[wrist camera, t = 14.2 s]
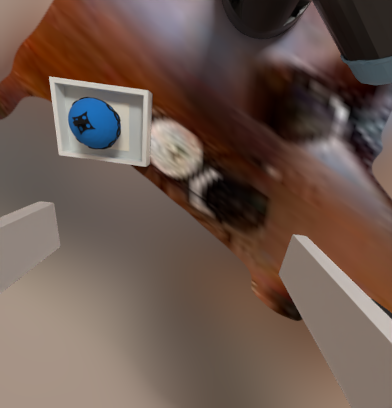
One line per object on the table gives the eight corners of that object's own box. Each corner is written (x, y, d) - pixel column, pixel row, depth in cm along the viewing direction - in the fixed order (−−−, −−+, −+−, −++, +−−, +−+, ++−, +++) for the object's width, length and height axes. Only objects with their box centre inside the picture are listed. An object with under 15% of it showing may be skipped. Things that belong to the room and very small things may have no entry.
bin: (61, 81, 36) (49, 76, 33) (152, 93, 36) (148, 90, 33) (69, 153, 40) (59, 155, 38) (149, 164, 41) (145, 166, 38)
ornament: (116, 94, 36) (85, 80, 26) (135, 139, 38) (113, 141, 29) (77, 110, 37) (35, 102, 27) (98, 153, 39) (66, 159, 30)
